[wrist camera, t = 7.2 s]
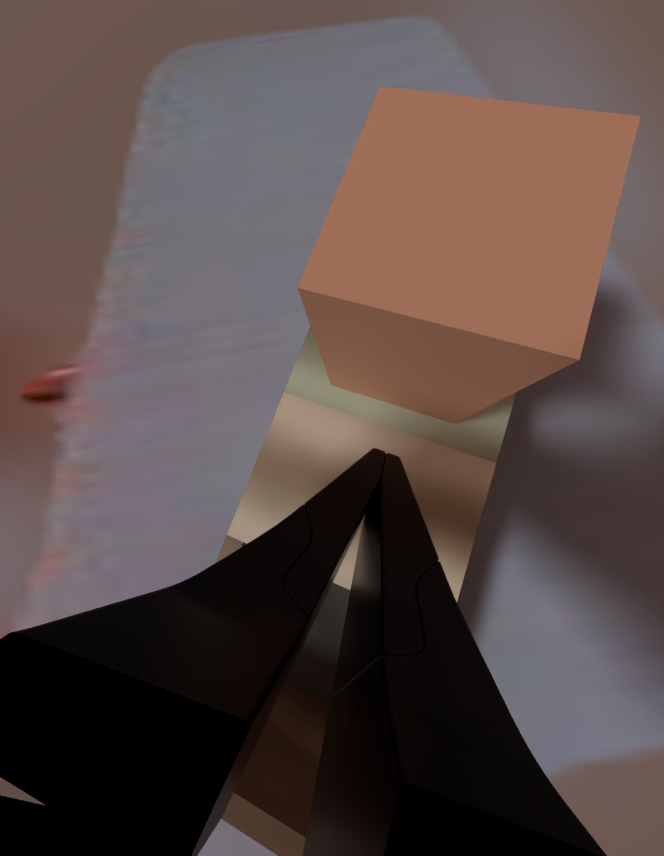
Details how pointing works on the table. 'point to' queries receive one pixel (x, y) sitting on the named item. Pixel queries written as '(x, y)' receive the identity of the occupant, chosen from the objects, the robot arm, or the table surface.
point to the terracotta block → (464, 248)
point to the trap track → (288, 490)
